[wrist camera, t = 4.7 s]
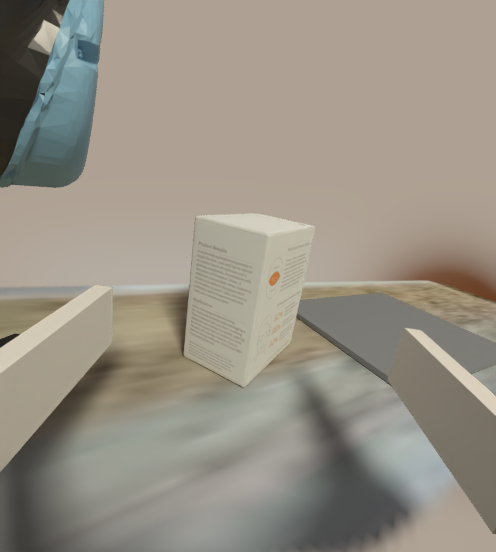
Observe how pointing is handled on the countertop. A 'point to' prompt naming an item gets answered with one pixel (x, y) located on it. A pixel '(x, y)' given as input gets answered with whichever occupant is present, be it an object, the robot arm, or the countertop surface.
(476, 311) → the countertop surface
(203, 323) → the small box
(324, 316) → the slate mat
